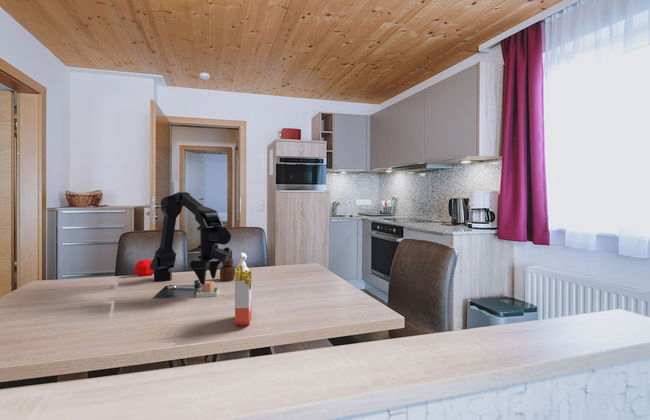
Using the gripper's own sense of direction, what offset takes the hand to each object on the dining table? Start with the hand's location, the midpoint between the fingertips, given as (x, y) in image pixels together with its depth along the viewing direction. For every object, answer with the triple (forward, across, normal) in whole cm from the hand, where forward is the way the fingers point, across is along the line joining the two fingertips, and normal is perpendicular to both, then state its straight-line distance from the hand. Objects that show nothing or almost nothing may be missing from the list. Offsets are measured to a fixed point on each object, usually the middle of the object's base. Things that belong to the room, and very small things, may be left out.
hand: (208, 281), depth 135 cm
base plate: (+6, +2, +13) cm, 15 cm away
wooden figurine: (+6, +21, +1) cm, 22 cm away
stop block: (+5, 0, 0) cm, 5 cm away
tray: (+6, 0, 0) cm, 6 cm away
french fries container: (+6, -23, -23) cm, 33 cm away
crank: (+5, +5, +13) cm, 15 cm away
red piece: (+6, +26, +44) cm, 51 cm away
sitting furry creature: (+6, +31, -2) cm, 32 cm away
